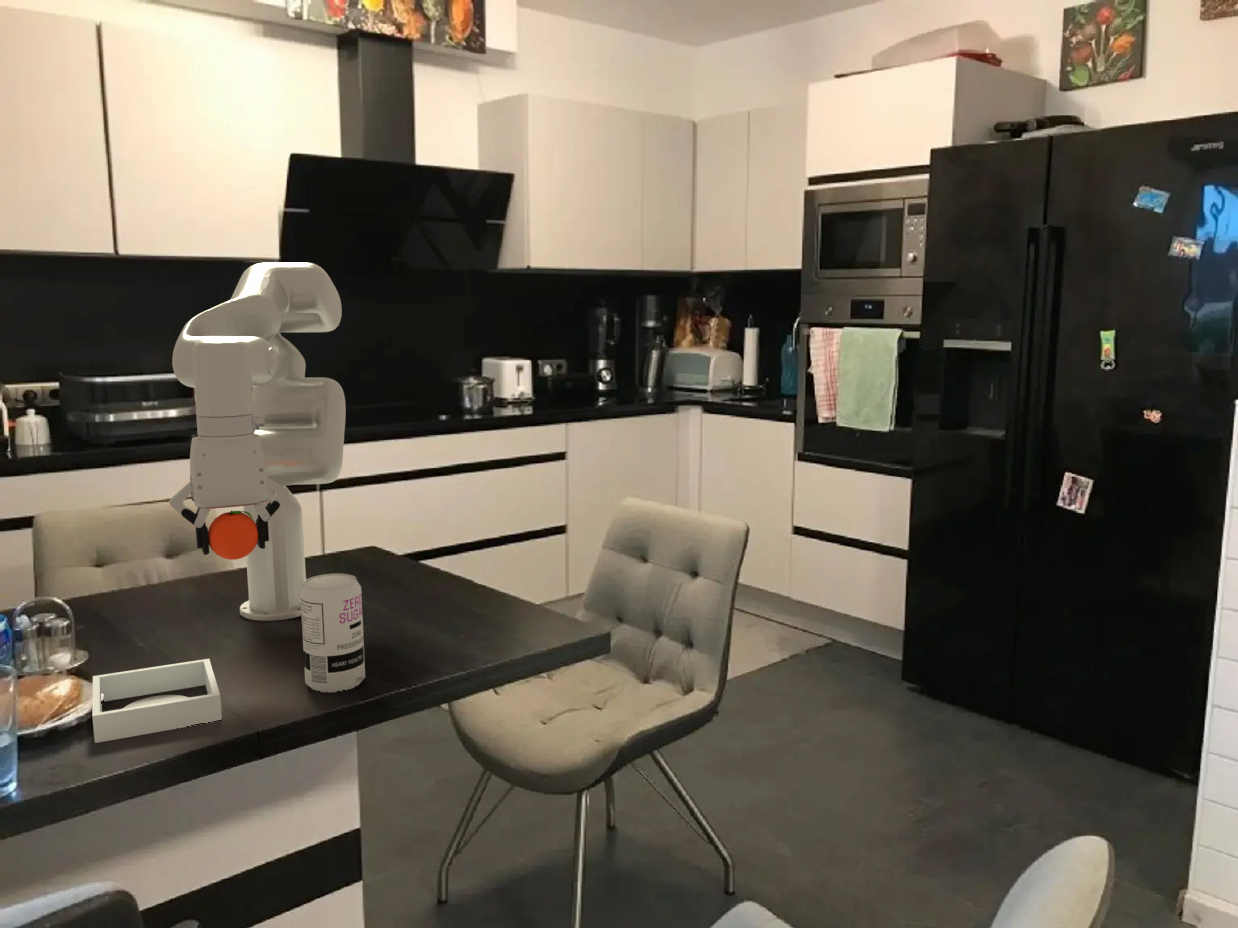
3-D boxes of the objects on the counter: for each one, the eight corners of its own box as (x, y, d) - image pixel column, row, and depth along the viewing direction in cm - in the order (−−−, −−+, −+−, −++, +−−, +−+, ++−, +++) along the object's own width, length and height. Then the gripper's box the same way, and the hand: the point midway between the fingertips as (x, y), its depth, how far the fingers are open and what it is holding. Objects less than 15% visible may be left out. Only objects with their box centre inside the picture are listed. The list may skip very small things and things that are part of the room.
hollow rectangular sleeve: (210, 682, 144) (209, 658, 143) (221, 720, 131) (220, 694, 130) (95, 700, 137) (92, 676, 137) (94, 742, 124) (92, 716, 124)
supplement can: (312, 673, 147) (306, 573, 145) (369, 671, 148) (365, 571, 145) (299, 695, 139) (293, 589, 137) (360, 693, 140) (355, 588, 137)
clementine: (235, 549, 152) (232, 503, 151) (274, 553, 150) (272, 506, 149) (198, 562, 145) (194, 513, 143) (238, 566, 142) (235, 517, 141)
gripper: (284, 421, 151) (291, 538, 154) (157, 428, 143) (166, 551, 146) (294, 426, 145) (300, 548, 147) (160, 434, 137) (170, 562, 140)
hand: (233, 548), depth 147 cm, fingers closed on clementine, 7 cm apart
